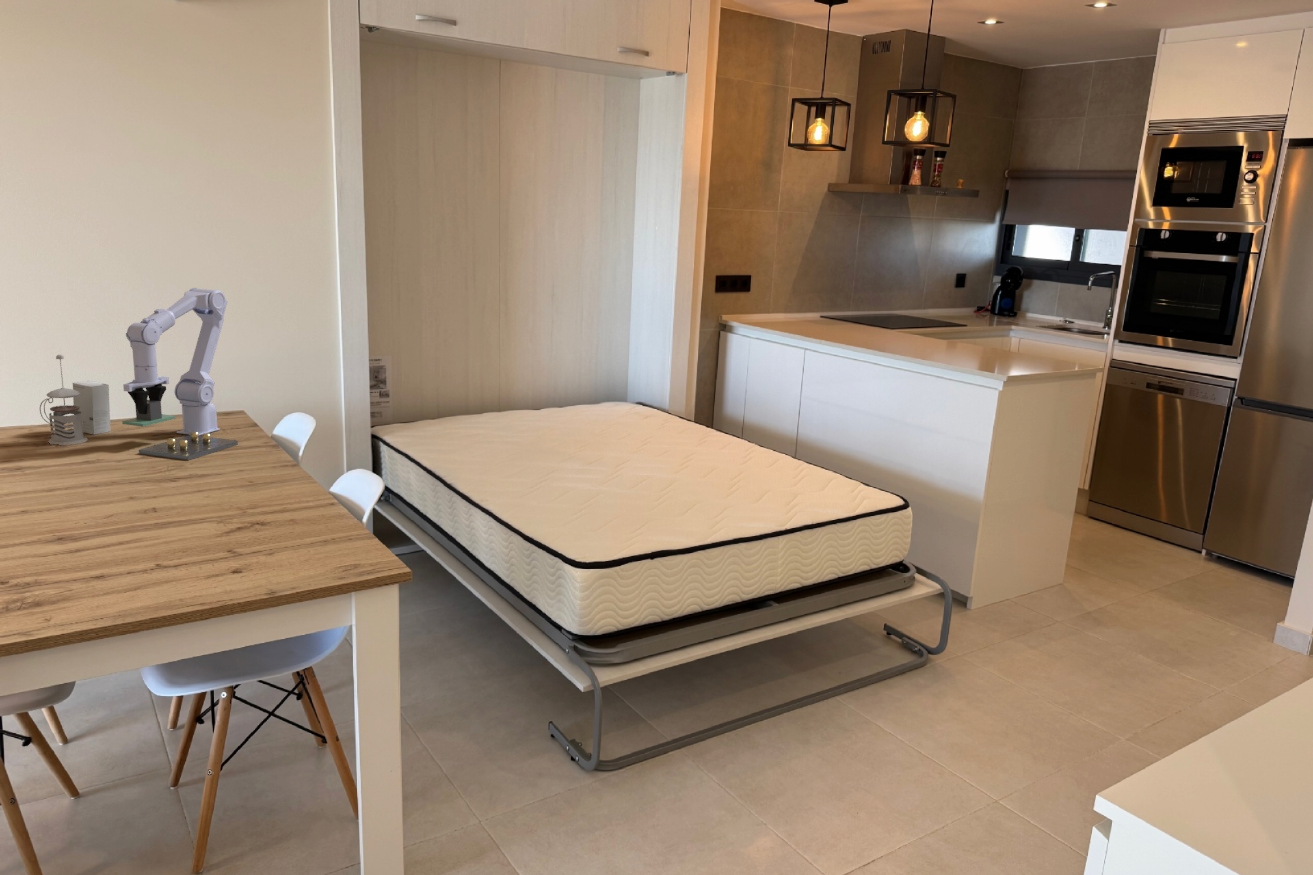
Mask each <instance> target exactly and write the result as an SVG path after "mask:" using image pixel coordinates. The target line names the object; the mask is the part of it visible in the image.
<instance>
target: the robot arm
mask: <svg viewBox="0 0 1313 875" xmlns="http://www.w3.org/2000/svg"><path fill="white" fill-rule="evenodd" d="M227 305H228V300H227V298H226V296H225V294H224V292H222V290H219V289H207V288H197V287H192V288H189V290H187V291H185V292H184V294H183V296H182V297H181V298H180V299H178V300H177V301H176V302H174V303H173V304H172V305H171V306H170V307H168V308H167V309H165V308H156V309H154V311H153V312H154V313H152V314H150V315H149V316H147V317H144V318H142V320H141V321H140V322H133V323H131V324H130V325H129V326H128V327H127V331H126V333H125V337H126V339H127V341H129V344H130V347H131V349H132V359H133V372H134V373H133V374H134V379H132V381H130V382H127V383H124V384H123V392H127V394H129V395H130V398H131V399H132V400H133V402H134V404H135V405H136V406H135V405H134V406H135V408H136V407H137V410H138V412H139V414H146V413H147V400H155V401H161V402H162V399H163V397H164V393H165V392H166V390H167V386H165V385H168V384H170V378H169V377H167V376H161V377H159V376H158V375H159V374H158V364H157V363H158V362H157V350H156V348H157V346H156V344H157V343H158V342H159V340H160V338H161V336H162V335H163V333H165V332H167V331H168V330H170V328H172V327H174V326H175V324H176V320H177V319H179V318H180V317H182V316H184V315H186V314H187V313H189V312H190V311H193V312H194V313H195V314H196V316H198V318H200V320H201V321H202V323H201V327H200V331H199V334H198V338H197V342H196V344H195V348H194V352H193V355H192V359H191V362H190V366H189V370H187V371H186V372H185V373H183V374H181V375H180V378H179V381H178V382H177V384H176V385H175V387H174V395H175V398H176V399H177V400H178V401H179V404H181V412H182V413H181V414H182V429H181V430H178V431H176V434H181V435H182V434H183V435H187V436H188V435H191V432H198V435H199V436H203V435H202V434H204V433H210V434H211V433H213V432H216V431H217V432H218V431H219V430H220V429H221V428H219V427H218V416H217V409H216V406H215V404H213V402H212V400H213V398H214V396H215V392H214V386H215V381H214V380H213V378H212V377H211V376H210V371H211V368H212V365H213V362H214V357H215V353H216V350H217V348H218V342H219V340H220V336H221V332H222V328H223V325H224V317H225V316H224V315H225V312H226V309H227Z"/></svg>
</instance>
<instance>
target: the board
mask: <svg viewBox="0 0 1313 875" xmlns="http://www.w3.org/2000/svg"><path fill="white" fill-rule="evenodd" d="M134 407H135V418H134V417H133V418H131V419H130V418H129V419H125V420H122V421H121V423H122V424H121V425H125V426H127V425H129V426H134V427H135V426H136V427H143V428H144V427H148V426H152V425H155V424H156V425H157V424H160V423H163V422H167V421H172V420H175V419H176V416H175V415H173V414H172V415H170V414H163V413H162V400H161V401H155V400H149V399H147V413H146V414H139V412H138V410H137V407H136V405H134Z"/></svg>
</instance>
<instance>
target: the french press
mask: <svg viewBox="0 0 1313 875" xmlns="http://www.w3.org/2000/svg"><path fill="white" fill-rule="evenodd" d="M55 359H56V360H59V365H60V373H61V374H60V375H61V388H57V389H54V390H50V391H49V392H48V393H46V396H47V398H45V399H43V400H42V401H41V402H40V405H39V414H40V417H41V418H42V419H43V420H44V422H46V423H48V424H49V427H50V437H51V438H50V439H49V440H47V443H48V442H49V443H50V444H49V443H48V444H49V445H53V444H59V445H58V446H67V445H68V446H70V445H71V444H72V445H78V444H82V443H86V442H87V441H89V439H88V438H87V437H85V436H84V433H83V426H82V415H81V412H80V411H75V410H78V409H79V408H80V407H79V406H75V405H74V404H72V405H71V404H70V405H69V404H68V405H67V404H66V400H65V399H70V398H73V397H77V396H80V393H79V392H78V391H76V390H73V388H65V387H64V380H63V379H64V378H63V369H62V360H64V359H65V357H64V355H63V354H57V355H56V357H55ZM50 399H51V402H50ZM54 399H63V405H57V406H52V407H50V408H49V410H50V411H51V412H50V413H48V416H49V417H48V416H47V413H46V409H45V408H46V407H45V406H46V403H47V401H48V403H49V404H52V403H54ZM43 403H44V404H43ZM42 405H43V412H44V414H45V416H46V418H47V420H46V419H45V418H44V417H43V415H42V414H43V413H42V410H41V409H42V408H41V407H42ZM52 414H53V415H52ZM74 414H75V415H74ZM48 420H49V421H48ZM66 424H67V425H66Z"/></svg>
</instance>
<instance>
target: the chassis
mask: <svg viewBox="0 0 1313 875" xmlns="http://www.w3.org/2000/svg"><path fill="white" fill-rule="evenodd" d="M166 440H167V441H163V442H161V443H157V444H154V445H150V446H147V447H143V448H140V449H138V455H145V456H152V457H159V458H167V459H175V460H180V461H181V460H182V461H191V460H193V459H197V458H200V457H203V456H206V455H209V454H212V453H213V454H214V453H215V452H218V451H219V452H220V451H221V450H222V451H223V450H224V449H229V448H232V447H234V446H238V444H239V442H238V440H236V439H229V438H228V439H227V438H219V437H211V432H210V433H204V434H202V435H200V436H199V435H198V432H191V435H188V434H187V435H186V436H181V437H177V438H172V437H171V438H167V439H166Z"/></svg>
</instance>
